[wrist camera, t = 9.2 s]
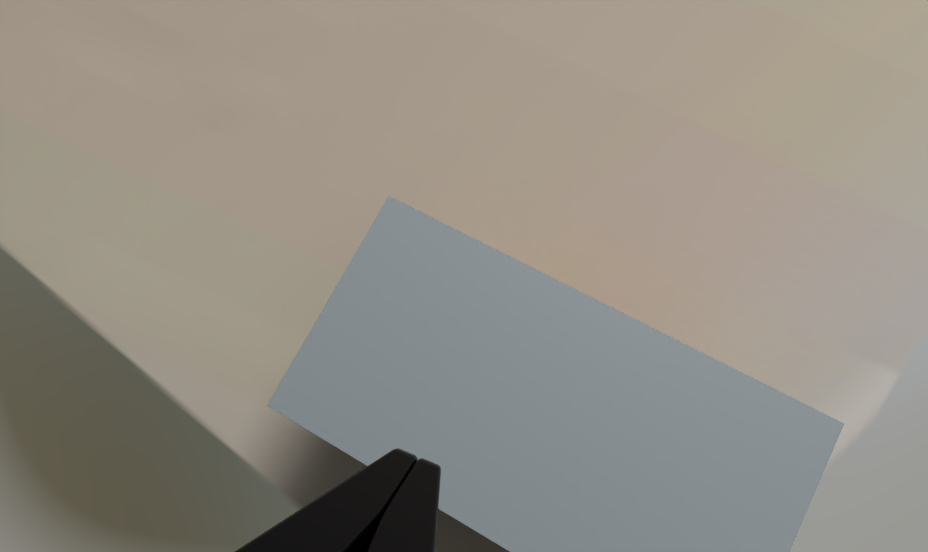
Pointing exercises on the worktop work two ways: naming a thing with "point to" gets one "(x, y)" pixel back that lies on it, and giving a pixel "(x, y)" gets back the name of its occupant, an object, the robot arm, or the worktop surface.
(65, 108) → the worktop surface
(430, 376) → the box lid
